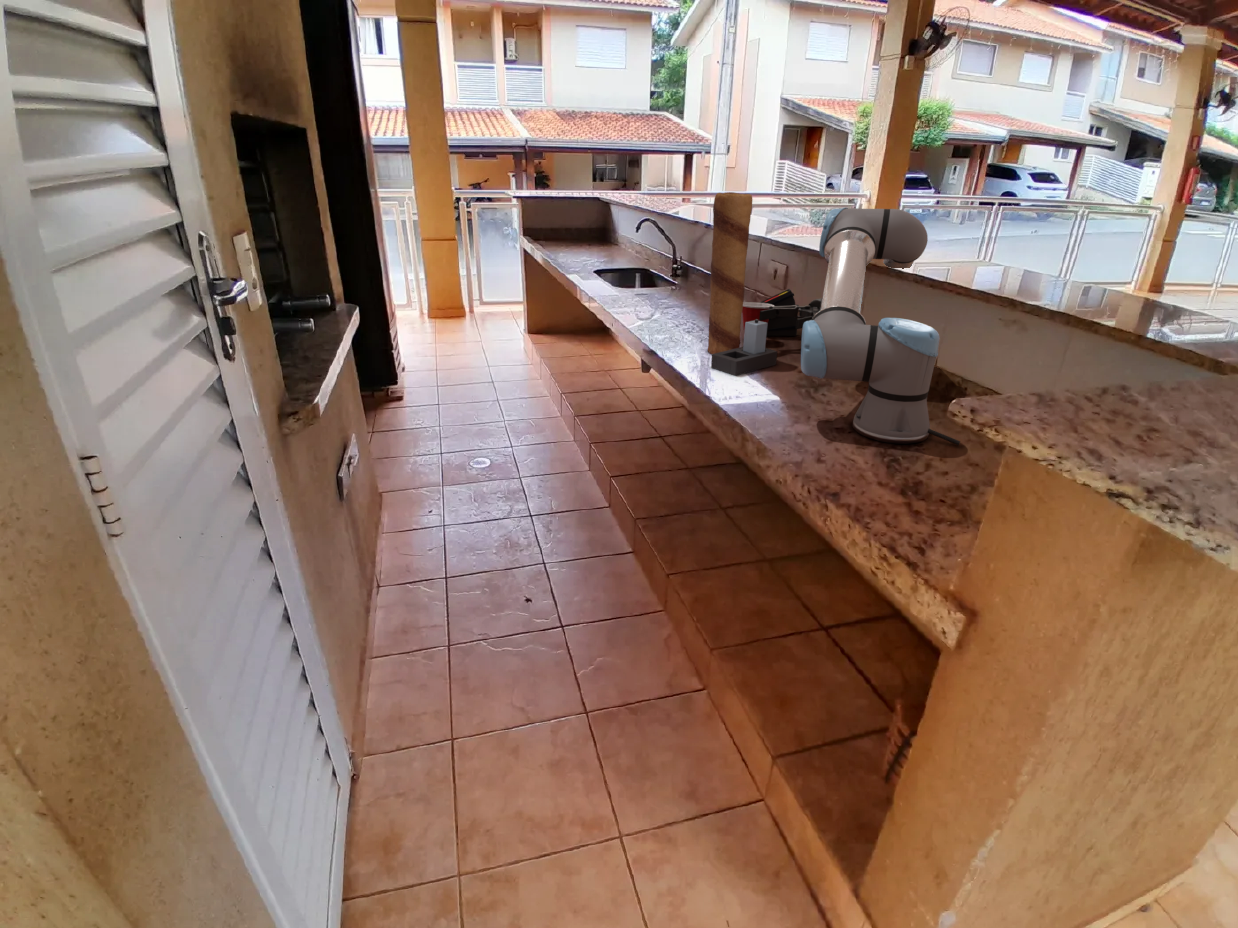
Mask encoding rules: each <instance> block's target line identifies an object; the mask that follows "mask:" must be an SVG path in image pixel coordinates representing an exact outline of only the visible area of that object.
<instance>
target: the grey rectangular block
mask: <svg viewBox="0 0 1238 928" xmlns="http://www.w3.org/2000/svg"><path fill="white" fill-rule="evenodd" d="M767 324H768V323H766V322H762V321H758V319H755V320H754V321H749V322H745V333H744V332H743V344H742V345H743V346H742V347H743V351H745V352H749V353H752V354H757V353H761V352H765V348H766V345H767V344H766V343H767V336H766V334H767Z"/></svg>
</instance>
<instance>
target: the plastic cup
mask: <svg viewBox="0 0 1238 928" xmlns="http://www.w3.org/2000/svg"><path fill="white" fill-rule="evenodd" d="M770 306H774V305H772V304H766V303H759V302H750V301H749V302H746V301H745V302H743V309H742V314H741V316H742V327H743V328H742V329H743V334H744V333H745V322H749V321H754V320H755V319H758V321H760V320H759V316H760V311H763V310H768V309H769V307H770ZM768 320H769V319H766V320H762V322H766V323H768Z"/></svg>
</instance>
